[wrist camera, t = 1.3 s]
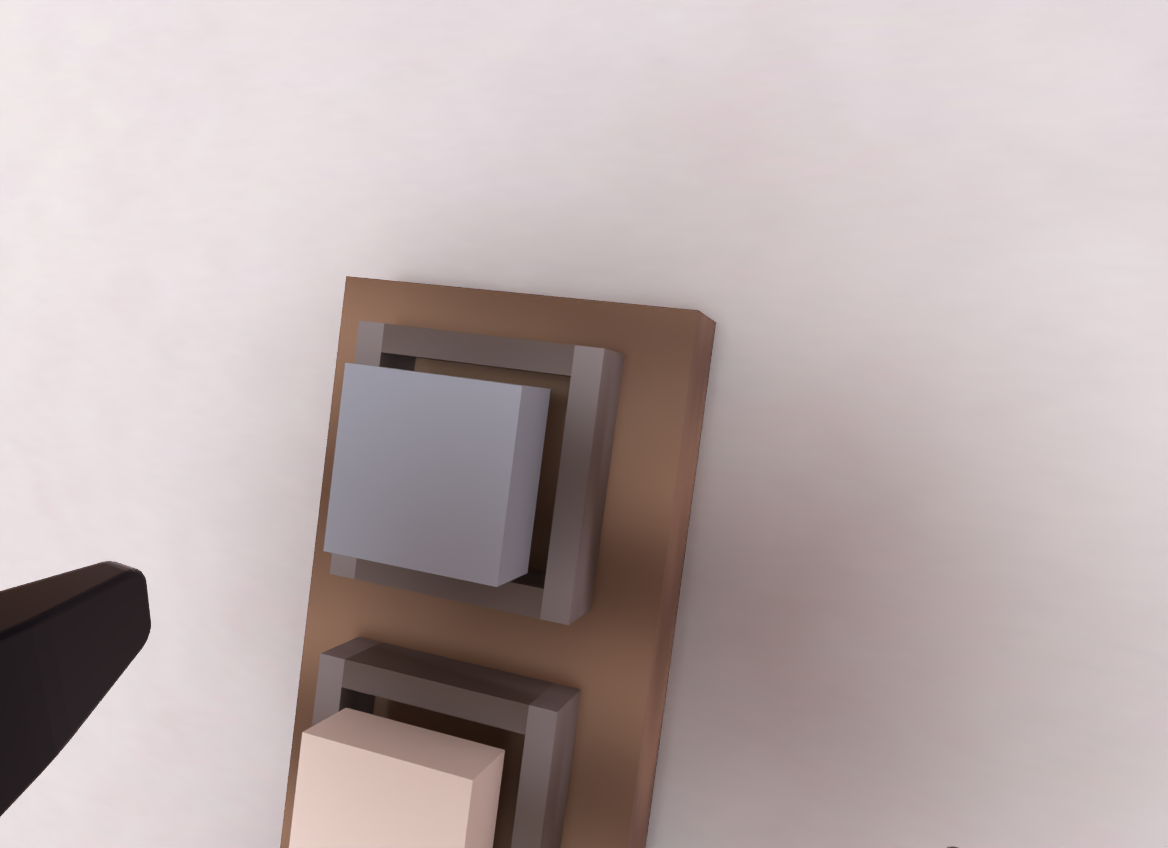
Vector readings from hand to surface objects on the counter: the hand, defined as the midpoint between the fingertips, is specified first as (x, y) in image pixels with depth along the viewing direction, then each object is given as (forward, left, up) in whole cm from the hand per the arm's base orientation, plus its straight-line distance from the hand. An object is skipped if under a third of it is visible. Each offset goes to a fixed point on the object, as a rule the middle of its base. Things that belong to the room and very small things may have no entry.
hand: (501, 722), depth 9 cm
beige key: (-11, +2, -13) cm, 17 cm away
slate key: (-2, +6, -13) cm, 14 cm away
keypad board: (-11, +2, -18) cm, 21 cm away
